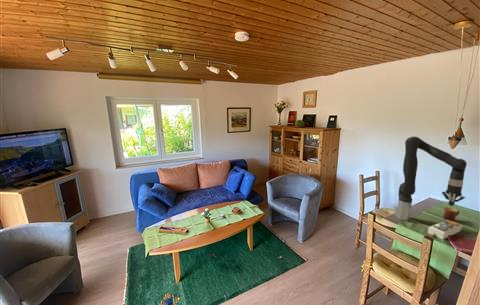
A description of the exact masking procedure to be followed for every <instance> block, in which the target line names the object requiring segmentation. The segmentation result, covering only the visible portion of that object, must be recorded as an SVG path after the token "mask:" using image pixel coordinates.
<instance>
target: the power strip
mask: <svg viewBox="0 0 480 305" xmlns="http://www.w3.org/2000/svg"><path fill="white" fill-rule="evenodd" d="M444 223H448V224H451V223H449V220H443V221H442V222H441V221H440V222H438V223H436V224H432V225H430V226H429V227H428V228H427V233H428V234H429V235H431V237H432V238H433V237H436V238H438V239H441V240H444V239H446V238H449V237H448V235H451V236H453V235H455V234H457V233H459V232H462V229H463V224H460V223H459V225H454V224H451V225H453V226H454V227H453V228H451V227H448V229H446V230H445V231H441V230H439V229H437V227H438V226H440V225H441V224H444Z"/></svg>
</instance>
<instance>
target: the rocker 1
mask: <svg viewBox="0 0 480 305" xmlns="http://www.w3.org/2000/svg"><path fill="white" fill-rule="evenodd" d="M437 229H439V230H441V231H445V230H446V229H448V226H446V225H443V224H441V225H440V226H438V227H437Z"/></svg>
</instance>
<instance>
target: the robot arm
mask: <svg viewBox="0 0 480 305" xmlns="http://www.w3.org/2000/svg"><path fill="white" fill-rule="evenodd" d="M404 145H405V153H404V154H405V155H404V159H403V165H402V173H403V177H404V182H402V183H401V184H399V187H398V193H397V194H398V202H397V206H396V207H395V214H394V217H395V218H397V219H398V220H401V221H406V222H407V221H410V215H411V211H412V210H411V209H412V204H413V198H412V196H413V195H414V194H415V193H416V178H417V172H418V155H417V153H418V149H420V150H421V151H424V152H426V153H427V154H429V155H430V156H432V157H433V158H435V159H437V160H438V161H441V162H443V163H445V164H447V165H449V166H450V167H451V172H450V175H449V179H448V182H447V188H446V189H445V191H442V192H441V194H442V195H443V197H444V199H446V200H447V201H448V205H449V206H450V207H453V206H455V204H456V203H458V202H460V201H463V200H464V199H466V197H465V196H463V194H462V191H463V187H464V186H463V185H464V179H465V171H466V168H467V164H468V163H467V161H466V160H465V159H462V158H457V157H455V156H453V155H452V154H450V153H449V152H446V151H444V150H442V149H440V148H437V147H436V146H433V145H431V144H429V143H427V142H426V141H424V140H422V139H421V138H420V137H418V136H410V137H408V138H406V140H405V143H404Z"/></svg>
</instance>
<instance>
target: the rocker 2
mask: <svg viewBox="0 0 480 305" xmlns="http://www.w3.org/2000/svg"><path fill="white" fill-rule="evenodd" d="M449 223H451V224H454V225H459V224H460V223H459V222H457V221H449Z"/></svg>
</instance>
